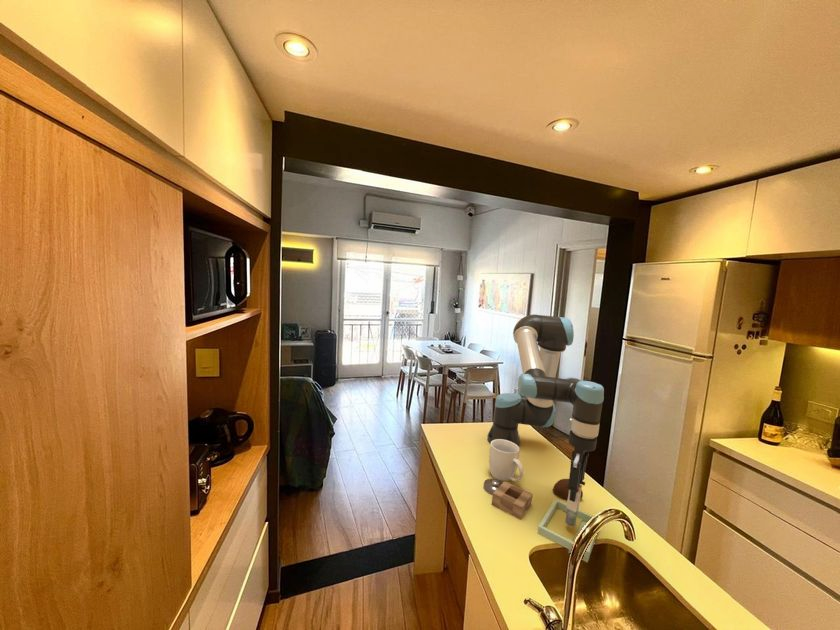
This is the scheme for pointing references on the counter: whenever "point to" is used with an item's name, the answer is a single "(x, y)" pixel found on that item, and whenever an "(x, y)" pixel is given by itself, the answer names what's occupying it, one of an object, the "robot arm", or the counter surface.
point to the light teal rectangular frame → (561, 539)
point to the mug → (504, 460)
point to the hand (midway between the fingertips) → (572, 506)
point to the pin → (572, 514)
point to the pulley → (491, 485)
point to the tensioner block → (512, 499)
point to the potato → (563, 489)
